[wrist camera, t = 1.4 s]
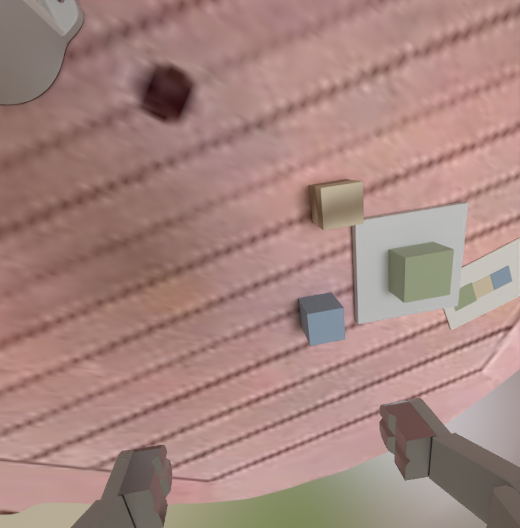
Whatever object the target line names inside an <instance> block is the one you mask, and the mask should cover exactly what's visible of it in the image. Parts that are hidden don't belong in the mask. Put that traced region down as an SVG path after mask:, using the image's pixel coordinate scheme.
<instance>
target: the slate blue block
mask: <svg viewBox="0 0 520 528" xmlns="http://www.w3.org/2000/svg"><path fill="white" fill-rule="evenodd" d="M299 306H300V315H301V324H302V329H303V331H304V333H305V335H306V337H307V340H308V342H309V344H310V346H312V345H317V344H323V343H328V342H333V341H339V340H344V339H345V324H344V307H343V306H342V305H341V304H340V303H339V301H338V300H337V299H336V298H335V296H334V295H333V294H332V293H325V294H320V295H314V296H308V297H303V298H299Z"/></svg>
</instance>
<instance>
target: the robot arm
mask: <svg viewBox="0 0 520 528" xmlns="http://www.w3.org/2000/svg"><path fill="white" fill-rule="evenodd" d="M82 23H83V12H82V10H81V7H80V5H79V3H78V1H77V0H65V1H64V2H63V3H60V1H59V0H0V104H6V105H7V104H19V103H23V102H27V101H30V100H32V99H34V98H36V97H38V96H39V95H41V94H42V93H43V92H45V91H46V90H47V89H48V88H49V87H50V85H51V84H52V83H53V81H54V80H55V78H56V77H57V75H58V73H59V70H60V68H61V64H62V61H63V57H64V53H65V49H66V46H67V44H68V42H69V41H70V40H71V39H72V38H73V37H74V36H75V34H76V33H77V32H78V31H79V29H80V28H81V26H82ZM380 415H381V416H382V419H381V421H380V422H379V424H380V432H381V437H382V439H383V442H384V444H385V446H386V448H387V449H388V451H390V452H391V453H393V454H394V455H395V464H396V465H397V467H398V469H399V471H400V472H401V474H402V476H403V478H404V479H405V480H411V479H417V478H423V477H429V478H430V479H431V480H432V481H434V482H435V483H436V484H437V485H438V486H440V487H441V488H442V489H444V490H445V491H446V492H447V493H449V494H450V495H451V496H452V497H453V498H455V499H456V500H457V501H458V502H460V503H461V504H462V505H464V506H465V507H466V508H467V509H468V510H470V511H471V512H472V513H474V514H475V515H476V516H477V517H479V518H480V519H481V520H482V521H483V522H485V523H486V524H487V527H486V528H520V467H518V466H516V465H514V464H512V463H510V462H509V461H507V460H505V459H503V458H501V457H499V456H497V455H496V454H494V453H492V452H490V451H488V450H486V449H484V448H482V447H481V446H479V445H477V444H475V443H473V442H471V441H469V440H467V439H465V438H464V437H462V436H460V435H458V434H456V433H453V434H451V433H450V432H449V430H448V429H447V428H446V427H445V426H444V424H443V423H442V422H441V421H440V420H439V419H438V417H437V416H436V415H435V414H434V413H433V412H432V410H431V409H430V408H429V407H428V406H427V404H426V403H425V402H424V401H423V400H422V399H420V398H416V399H410V400H406V401H405V400H404V401H399V402H394V403H389V404H383V405H381V406H380ZM166 454H167V450H166V447H165V445H157V446H151V447H144V448H138V449H132V450H126V451H121V453H120V454H119V455H118V457H117V460H116V462H115V465H114V467H113V470H112V472H111V475H110V477H109V480H108V482H107V485H106V487H105V490H104V492H103V495H102V497H101V500H96V501H95V502H94V503H93V504H92V505H91V507H90V508H89V509H88V510H87V511H86V512H85V513H84V514H83V515H82V516H81V517H80V518H79V519H78V520H77V521H76V523H75V524H74V525H73V526H72V527H71V528H163V526H164V522H165V516H166V511H167V506H168V505H167V502H166V499H165V498H166V496H167V495H168V494H169V492H170V490H171V484H172V467H171V463H170V460H168V459H167V458H166Z"/></svg>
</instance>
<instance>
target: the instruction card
mask: <svg viewBox="0 0 520 528" xmlns="http://www.w3.org/2000/svg"><path fill="white" fill-rule="evenodd" d="M519 296H520V237H519V238H517V239H516V240H514V241H512V242H510V243H508V244H506V245H504V246H502V247H500V248H498V249H496V250H494V251H492V252H490V253H488V254H486V255H484V256H483V257H481V258H479V259H477V260H475V261H473V262H471V263H469V264H467V265H465V266H463V267H462V271H461V281H460V290H459V300H458V306H454V307H449V308H444V312H445V315H446V318H447V321H448V324H449V327H450V330H453V329H455V328H457V327H459V326H461V325H463V324H465V323H467V322H469V321H471V320H473V319H475V318H477V317H479V316H481V315H483V314H485V313H487V312H489V311H491V310H493V309H495V308H497V307H499V306H501V305H503V304H505V303H507V302H509V301H511V300H513V299H515V298H517V297H519Z"/></svg>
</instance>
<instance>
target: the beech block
mask: <svg viewBox="0 0 520 528" xmlns="http://www.w3.org/2000/svg"><path fill="white" fill-rule="evenodd" d="M309 186H310V199H311V211H312V223H314V224H315V225H317V226H318V227H320V228H321V229H322V230H329V229H335V228H341V227H347V226H353V225H359V224H364V212H363V181H356V180H348V179H345V180H339V181H332V182H326V183H320V184H313V185H309Z"/></svg>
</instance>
